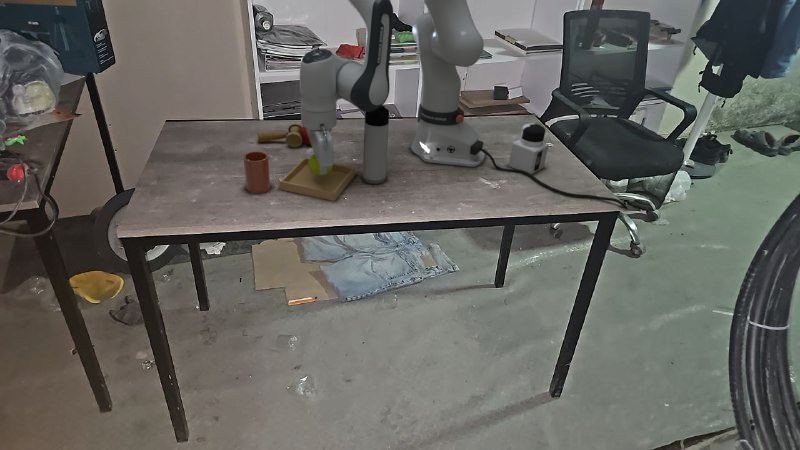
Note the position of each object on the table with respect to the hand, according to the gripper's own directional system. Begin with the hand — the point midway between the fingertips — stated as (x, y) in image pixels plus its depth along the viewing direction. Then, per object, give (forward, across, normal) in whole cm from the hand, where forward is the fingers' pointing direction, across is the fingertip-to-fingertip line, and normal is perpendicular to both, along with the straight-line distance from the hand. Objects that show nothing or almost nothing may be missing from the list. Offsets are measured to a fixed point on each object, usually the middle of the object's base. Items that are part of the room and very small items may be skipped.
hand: (320, 166), depth 148 cm
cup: (+4, 0, +16) cm, 17 cm away
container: (+6, -1, -61) cm, 61 cm away
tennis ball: (-1, 0, 0) cm, 1 cm away
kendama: (+5, +26, +5) cm, 27 cm away
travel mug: (+5, 0, -15) cm, 16 cm away
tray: (+5, 0, 0) cm, 5 cm away
